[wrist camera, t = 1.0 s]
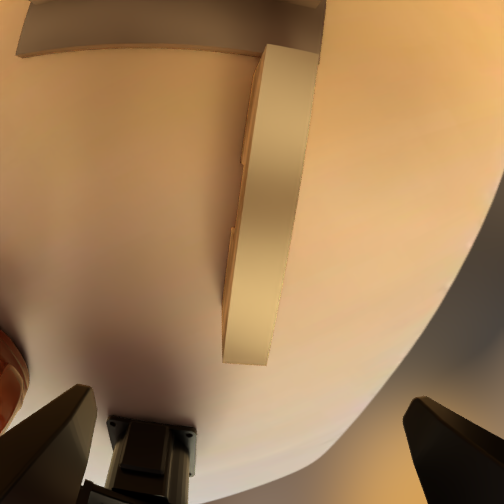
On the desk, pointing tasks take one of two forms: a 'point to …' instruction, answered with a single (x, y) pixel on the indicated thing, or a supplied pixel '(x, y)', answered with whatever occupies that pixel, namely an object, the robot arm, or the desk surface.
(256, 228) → the oak plate
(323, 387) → the desk surface
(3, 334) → the mug
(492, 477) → the robot arm
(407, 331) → the desk surface
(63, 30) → the joint base
